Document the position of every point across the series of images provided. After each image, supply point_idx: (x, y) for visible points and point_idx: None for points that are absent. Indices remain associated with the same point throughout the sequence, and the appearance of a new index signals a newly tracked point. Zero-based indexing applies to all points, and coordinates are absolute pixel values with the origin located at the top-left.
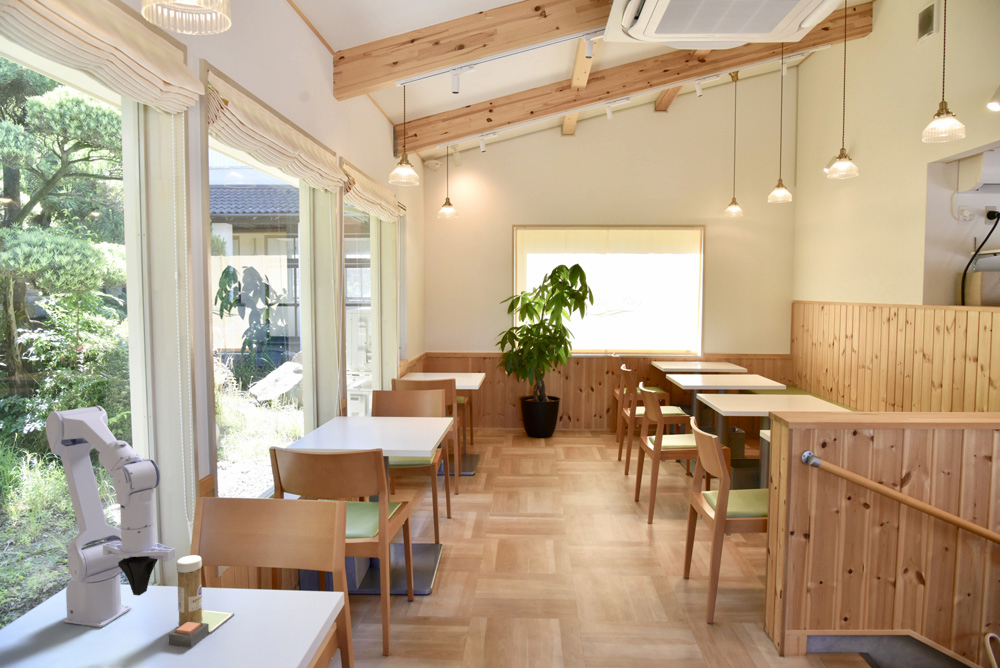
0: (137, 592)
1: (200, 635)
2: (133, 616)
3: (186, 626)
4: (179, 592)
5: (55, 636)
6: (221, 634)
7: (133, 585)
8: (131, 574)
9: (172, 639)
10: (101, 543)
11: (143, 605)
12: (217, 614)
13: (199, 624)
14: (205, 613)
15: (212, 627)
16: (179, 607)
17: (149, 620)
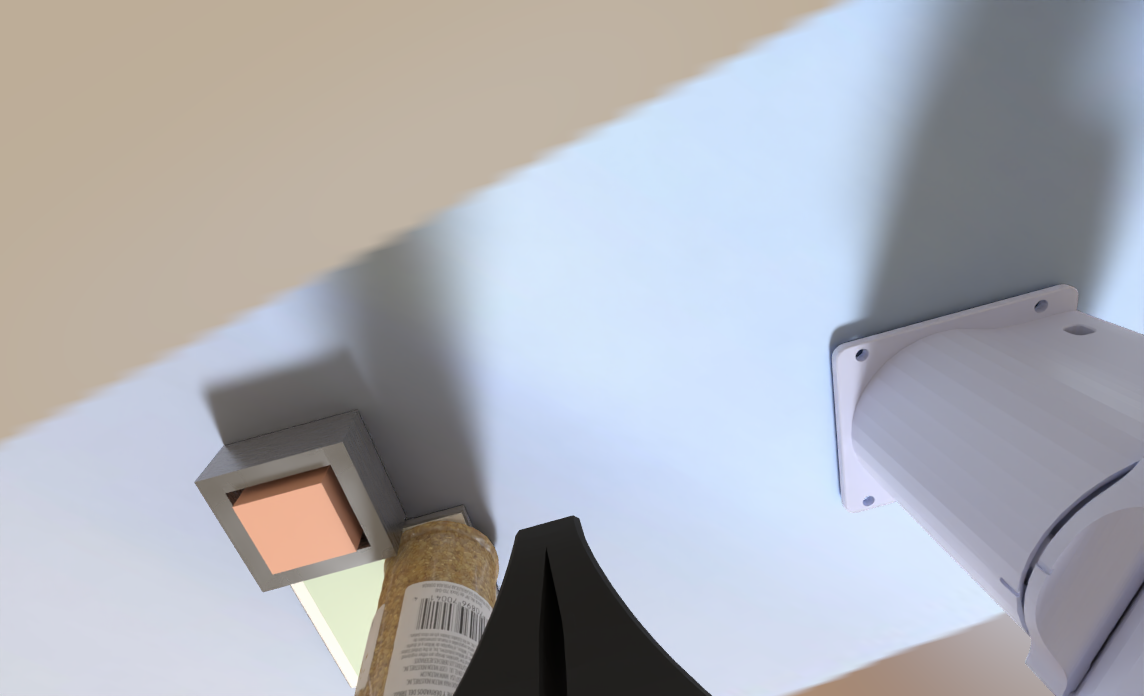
0: (522, 544)
1: None
2: (777, 475)
3: (306, 524)
4: (422, 689)
5: (995, 184)
6: (232, 576)
7: (555, 580)
8: (570, 686)
9: (324, 433)
10: None
11: (819, 546)
12: None
13: (270, 566)
14: None
15: (312, 587)
16: (439, 601)
17: (671, 490)
